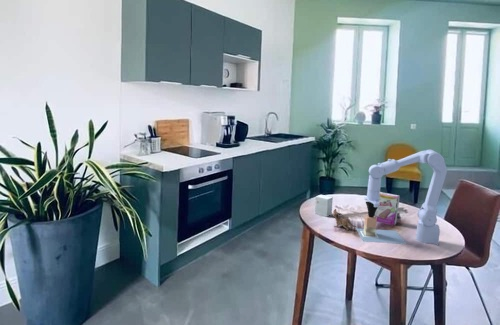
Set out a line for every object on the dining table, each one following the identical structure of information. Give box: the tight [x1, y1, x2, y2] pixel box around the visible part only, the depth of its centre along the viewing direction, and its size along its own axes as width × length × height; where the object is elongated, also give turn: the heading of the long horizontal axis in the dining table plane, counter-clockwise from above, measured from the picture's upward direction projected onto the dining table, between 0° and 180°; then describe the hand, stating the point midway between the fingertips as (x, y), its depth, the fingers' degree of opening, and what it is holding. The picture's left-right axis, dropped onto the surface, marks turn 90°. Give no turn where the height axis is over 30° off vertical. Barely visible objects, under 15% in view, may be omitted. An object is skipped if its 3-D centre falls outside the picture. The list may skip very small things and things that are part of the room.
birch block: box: [363, 223, 377, 236], centre depth 177 cm, size 4×4×4 cm
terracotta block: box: [363, 214, 378, 229], centre depth 177 cm, size 4×4×4 cm
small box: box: [314, 194, 333, 218], centre depth 206 cm, size 8×6×10 cm
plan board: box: [355, 227, 407, 245], centre depth 177 cm, size 20×16×1 cm
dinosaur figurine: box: [332, 209, 357, 231], centre depth 185 cm, size 14×6×9 cm, turn 49°
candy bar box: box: [374, 191, 401, 226], centre depth 194 cm, size 11×5×16 cm, turn 58°
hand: (370, 216), depth 176 cm, fingers closed
